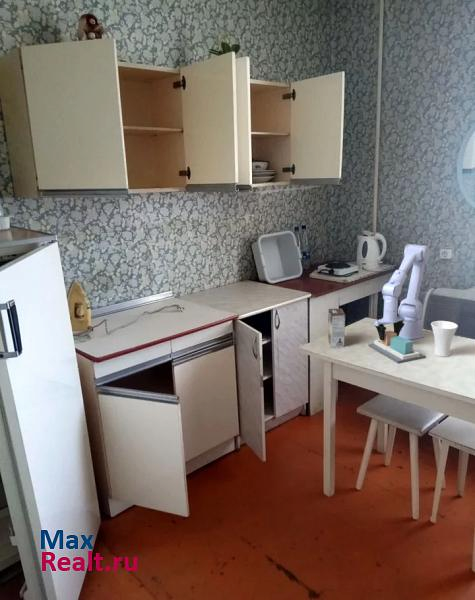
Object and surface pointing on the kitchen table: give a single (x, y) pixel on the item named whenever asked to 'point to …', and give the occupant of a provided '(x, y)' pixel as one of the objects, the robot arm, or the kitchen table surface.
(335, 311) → the coffee box
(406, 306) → the robot arm
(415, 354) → the shape board
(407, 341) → the teal bar
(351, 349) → the kitchen table surface
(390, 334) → the terracotta block
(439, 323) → the cup
